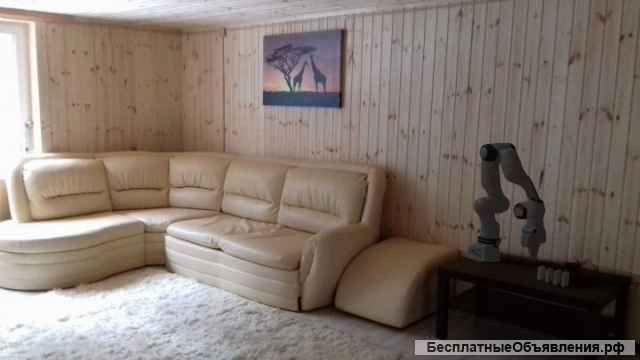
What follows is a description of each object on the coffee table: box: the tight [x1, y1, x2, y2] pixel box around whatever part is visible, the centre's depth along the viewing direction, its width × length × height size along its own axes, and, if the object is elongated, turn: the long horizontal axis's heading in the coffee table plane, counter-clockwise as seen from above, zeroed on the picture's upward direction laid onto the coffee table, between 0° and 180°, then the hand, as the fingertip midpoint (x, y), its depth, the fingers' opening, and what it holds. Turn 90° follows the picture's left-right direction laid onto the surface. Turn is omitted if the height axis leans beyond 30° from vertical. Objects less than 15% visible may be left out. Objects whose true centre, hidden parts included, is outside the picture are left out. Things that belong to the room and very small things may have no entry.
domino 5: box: [560, 271, 570, 288], centre depth 303 cm, size 2×4×7 cm, turn 130°
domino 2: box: [536, 265, 546, 281], centre depth 313 cm, size 2×4×7 cm, turn 130°
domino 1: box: [529, 245, 538, 260], centre depth 316 cm, size 2×4×7 cm, turn 130°
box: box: [563, 261, 581, 279], centre depth 321 cm, size 6×6×7 cm
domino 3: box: [544, 267, 554, 283], centre depth 310 cm, size 2×4×7 cm, turn 130°
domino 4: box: [552, 269, 562, 285], centre depth 306 cm, size 2×4×7 cm, turn 130°
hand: (533, 252), depth 316 cm, fingers closed on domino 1, 4 cm apart
